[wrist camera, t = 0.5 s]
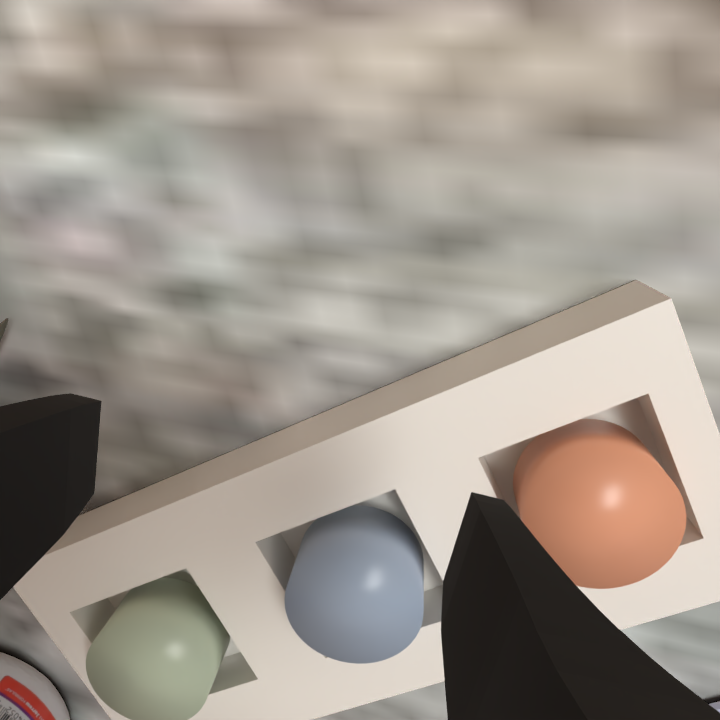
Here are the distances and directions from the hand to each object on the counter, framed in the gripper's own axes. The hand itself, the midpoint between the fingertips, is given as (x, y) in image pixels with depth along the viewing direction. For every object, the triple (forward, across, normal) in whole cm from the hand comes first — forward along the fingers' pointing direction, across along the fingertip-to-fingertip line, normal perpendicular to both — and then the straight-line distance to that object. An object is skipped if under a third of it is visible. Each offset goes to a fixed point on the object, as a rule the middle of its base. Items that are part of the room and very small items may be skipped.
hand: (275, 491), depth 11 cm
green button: (+8, +4, +12) cm, 15 cm away
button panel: (+10, -2, +7) cm, 12 cm away
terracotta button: (+8, -9, +2) cm, 12 cm away
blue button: (+8, -2, +7) cm, 11 cm away
